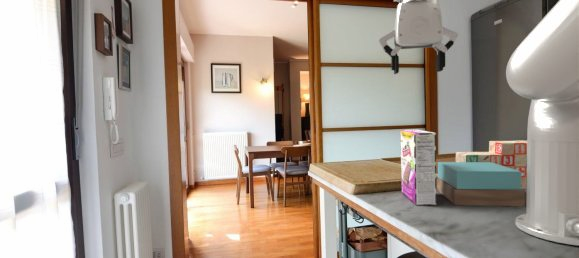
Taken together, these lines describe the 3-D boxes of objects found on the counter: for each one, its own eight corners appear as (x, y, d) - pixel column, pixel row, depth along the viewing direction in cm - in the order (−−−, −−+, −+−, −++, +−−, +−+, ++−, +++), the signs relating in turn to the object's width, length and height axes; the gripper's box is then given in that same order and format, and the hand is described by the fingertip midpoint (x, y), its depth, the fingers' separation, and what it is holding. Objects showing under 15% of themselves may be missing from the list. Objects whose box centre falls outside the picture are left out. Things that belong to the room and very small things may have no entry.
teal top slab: (520, 189, 68) (521, 171, 67) (456, 189, 69) (456, 171, 69) (491, 177, 80) (491, 162, 80) (437, 177, 82) (437, 162, 82)
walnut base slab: (524, 209, 67) (524, 190, 67) (454, 207, 70) (454, 189, 69) (494, 192, 81) (494, 177, 81) (436, 191, 83) (436, 176, 83)
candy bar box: (400, 193, 80) (399, 129, 80) (419, 193, 80) (419, 129, 79) (414, 206, 69) (414, 132, 68) (437, 205, 69) (437, 132, 68)
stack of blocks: (465, 189, 83) (465, 143, 82) (455, 184, 89) (455, 141, 88) (552, 189, 81) (552, 142, 80) (535, 183, 87) (535, 139, 86)
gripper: (380, -4, 71) (381, 72, 72) (462, -12, 67) (463, 67, 68) (377, 7, 78) (378, 76, 79) (451, 0, 75) (452, 72, 76)
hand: (417, 72), depth 74 cm, fingers open, 9 cm apart
